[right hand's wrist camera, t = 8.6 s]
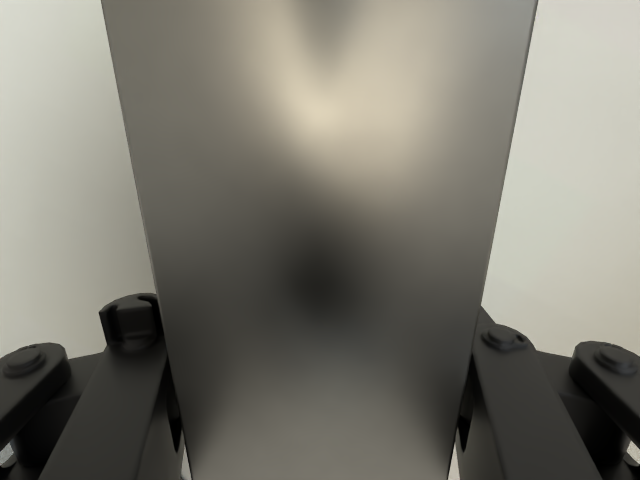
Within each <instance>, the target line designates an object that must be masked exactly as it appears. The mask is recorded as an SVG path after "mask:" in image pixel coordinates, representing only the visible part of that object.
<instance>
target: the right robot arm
mask: <svg viewBox="0 0 640 480" xmlns="http://www.w3.org/2000/svg"><path fill="white" fill-rule="evenodd" d="M99 316H100V320H101V323H102V327H103V331H104V335H105V339H106V342H107V346H106V348H105V350H104V352H101V353H98V354H93V355H88V356H83V357H78V358H73V359H68V357H67V354H66V351H65V348H64V347H62V346H61V345H60V344H56V343H42V344H33V345H29V346H25V347H22V348H20V349H18V350H16V351H14V352H12V353H10V354H7V355H5V356H4V357H2V358H1V359H0V452H1V450H2V449H3V448H4V447H5V446H6V445H7V444H8V443H9V442H10V445H11V447H12V449H13V452H14V453H13V455H12V456H11V457H10V458H9V459H8V460H7V461H6V462H5V463H3V464H2V465H1V466H0V480H183V479H182V478H181V477H180V475H181V468H182V460H183V453H184V445H185V442H184V436H183V431H182V426H181V420H180V415H179V410H178V405H177V399H176V394H175V389H174V383H173V378H172V373H171V368H170V362H169V357H168V352H167V347H166V341H165V336H164V331H163V325H162V320H161V315H160V310H159V304H158V299H157V294H153V293H139V294H134V295H129V296H125V297H122V298H120V299H117V300H114V301H113V302H111V303H109V304H107V305H106V306H104V307H103V308H102V309H101V310H100V311H99ZM631 441H632V442H633V443H634V444H635V445H636V446H637V447H638V448H639V449H640V357H639V356H638V355H636V354H635V353H633V352H630V351H628V350H626V349H623V348H622V347H620V346H617V345H614V344H613V345H612V344H610V343H606V342H596V341H587V342H581V343H579V344H578V345H577V346H576V347H575V350H574V353H573V356H572V358H571V357H566V356H560V355H555V354H550V353H545V352H541V351H537V350H536V349H535V347H534V345H533V344H532V343H531V341H530V340H529V339H528V338H527V337H526V336H524V335H523V334H521V333H520V332H518V331H517V330H514V329H512V328H510V327H507V326H504V325H499V324H496V323H495V322H494V321H493V320H492V318H491V317H490V316H489V315H488V314H487V312H486V311H485V310H484V309H483V307H482V306H480V312H479V317H478V322H477V328H476V333H475V338H474V343H473V349H472V354H471V359H470V365H469V370H468V375H467V380H466V386H465V391H464V396H463V402H462V407H461V412H460V417H459V423H458V428H457V433H456V439H455V444H456V452H457V459H458V467H459V474H460V480H640V464H638V463H637V462H636V461H635V460H634V459H633V458H632V457H631V456H630V455H629V454H628V453H627V452H626V451H627V448H628V446H629V444H630V442H631Z"/></svg>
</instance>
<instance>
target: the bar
mask: <svg viewBox="0 0 640 480" xmlns="http://www.w3.org/2000/svg"><path fill="white" fill-rule="evenodd" d="M101 4H102V9H103V14H104V19H105V25H106V30H107V35H108V41H109V46H110V51H111V56H112V62H113V67H114V72H115V77H116V83H117V88H118V93H119V99H120V104H121V109H122V114H123V120H124V125H125V130H126V136H127V141H128V146H129V151H130V157H131V162H132V167H133V172H134V178H135V183H136V188H137V194H138V199H139V204H140V209H141V215H142V220H143V225H144V230H145V236H146V241H147V246H148V252H149V257H150V262H151V267H152V273H153V278H154V283H155V289H156V294H157V299H158V304H159V310H160V315H161V320H162V325H163V331H164V336H165V341H166V347H167V352H168V357H169V362H170V368H171V373H172V378H173V383H174V389H175V394H176V399H177V405H178V410H179V415H180V420H181V426H182V431H183V436H184V442H185V447H186V452H187V457H188V463H189V468H190V473H191V478H192V480H448V476H449V470H450V465H451V460H452V455H453V449H454V444H455V439H456V433H457V428H458V423H459V417H460V412H461V407H462V402H463V396H464V391H465V386H466V380H467V375H468V370H469V365H470V359H471V354H472V349H473V343H474V338H475V333H476V328H477V322H478V317H479V312H480V306H481V301H482V296H483V291H484V285H485V280H486V275H487V269H488V264H489V259H490V253H491V248H492V243H493V238H494V232H495V227H496V222H497V216H498V211H499V206H500V201H501V195H502V190H503V185H504V179H505V174H506V169H507V164H508V158H509V153H510V148H511V142H512V137H513V132H514V127H515V121H516V116H517V111H518V105H519V100H520V95H521V89H522V84H523V79H524V74H525V68H526V63H527V58H528V52H529V47H530V42H531V37H532V31H533V26H534V21H535V15H536V10H537V5H538V0H101Z"/></svg>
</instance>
